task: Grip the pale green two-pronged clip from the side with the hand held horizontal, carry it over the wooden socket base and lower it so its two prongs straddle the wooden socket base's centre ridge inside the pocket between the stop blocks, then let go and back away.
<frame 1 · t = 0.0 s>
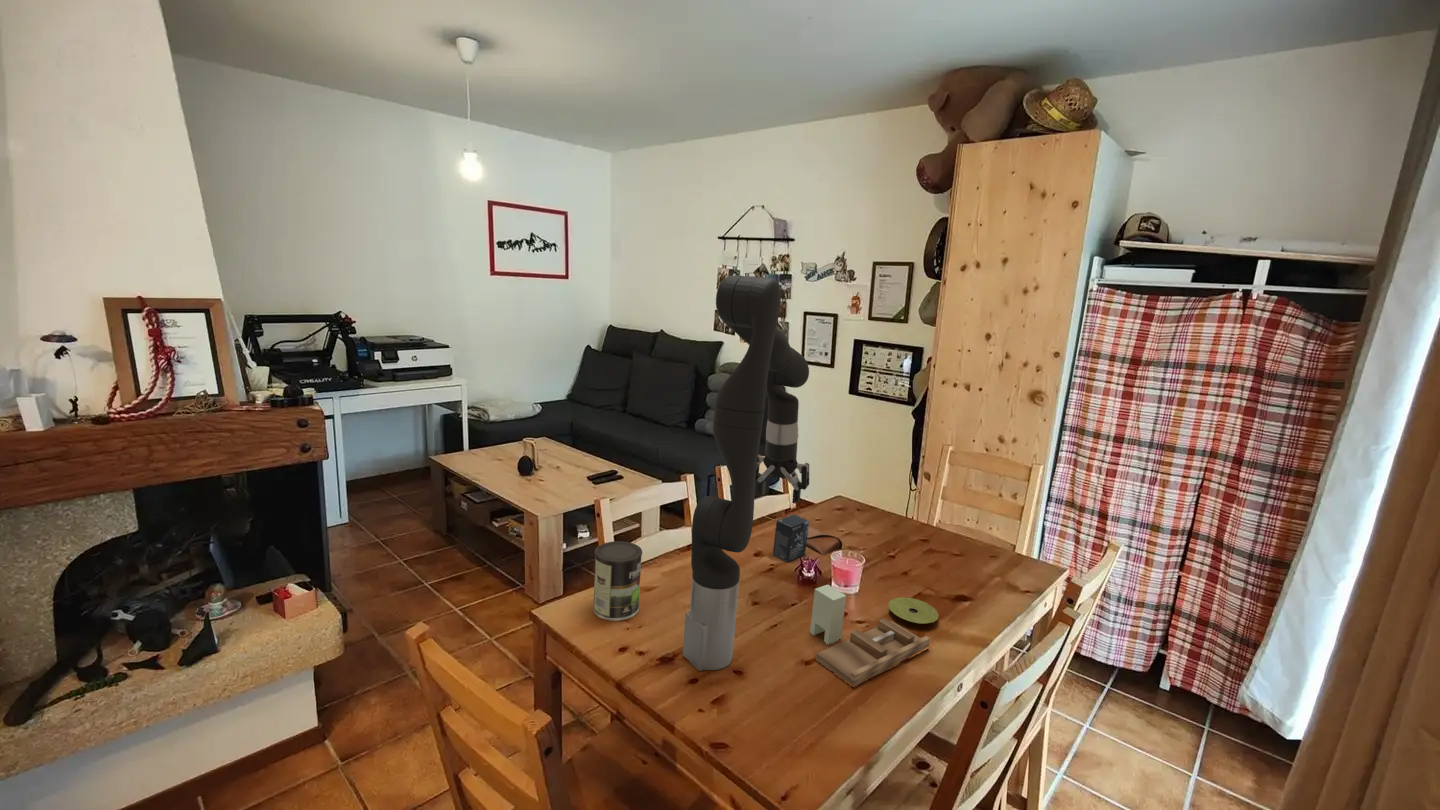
hand: (778, 498, 150), 22 cm above the table, tool pointing down, fingers open, 8 cm apart
sunglasses case: (809, 543, 181), on the table
green washer: (911, 617, 143), on the table
box: (789, 556, 170), on the table
wooden socket base: (873, 654, 127), on the table
coffee can: (616, 609, 137), on the table
clip: (825, 636, 133), on the table
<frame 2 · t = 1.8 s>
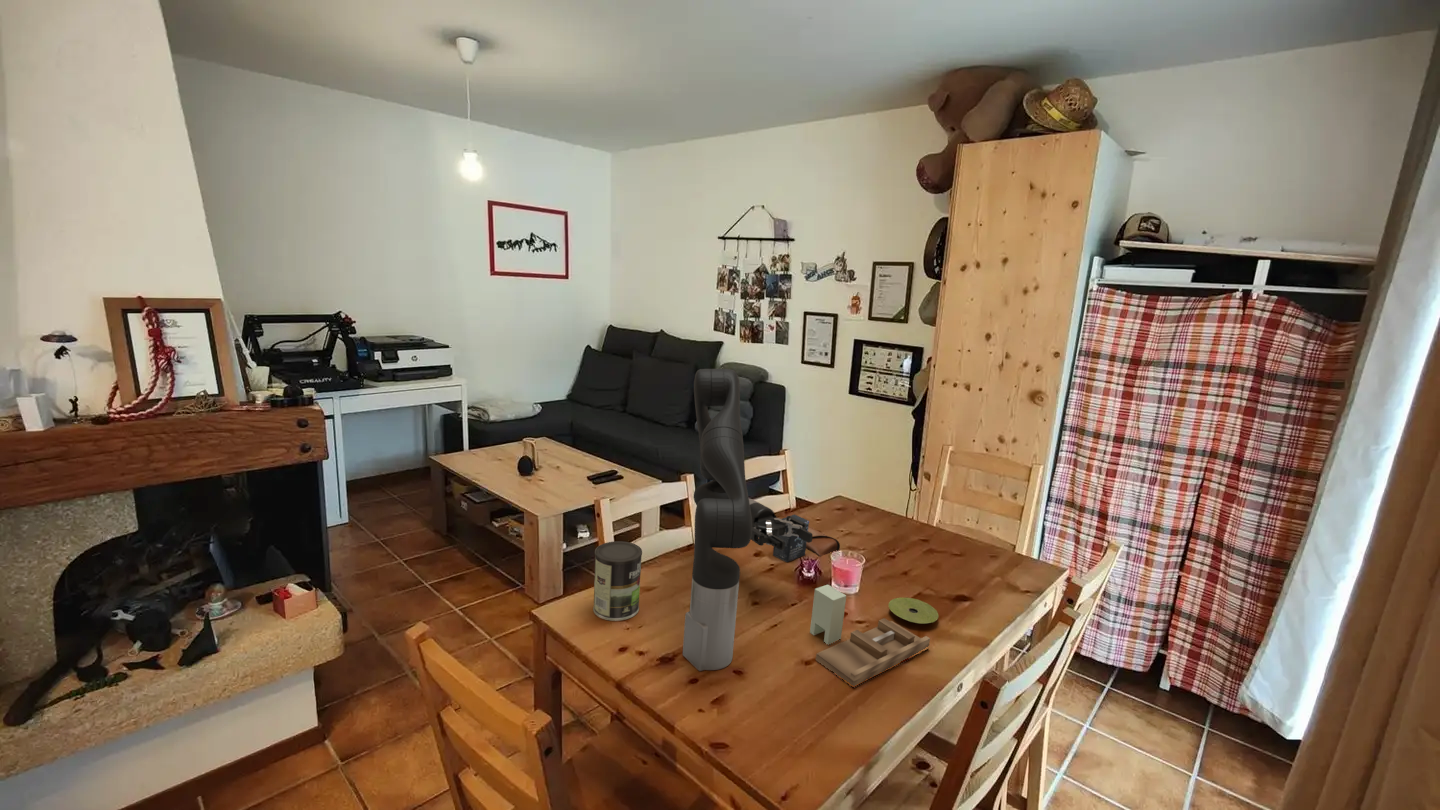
hand: (797, 542, 138), 17 cm above the table, tool horizontal, fingers open, 8 cm apart
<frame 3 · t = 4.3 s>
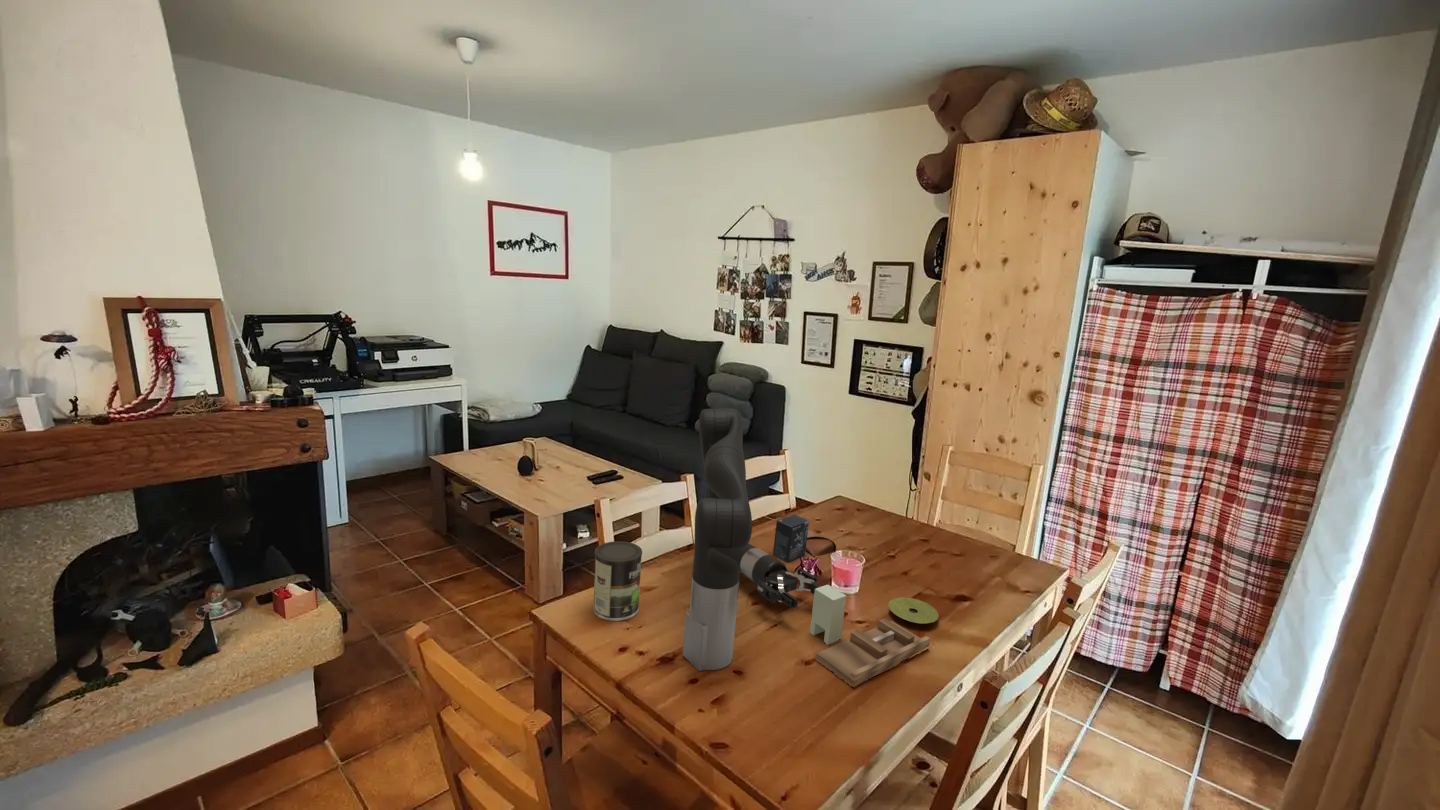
hand: (810, 599, 136), 6 cm above the table, tool horizontal, fingers open, 8 cm apart
sunglasses case: (804, 544, 180), on the table
everything else where it was.
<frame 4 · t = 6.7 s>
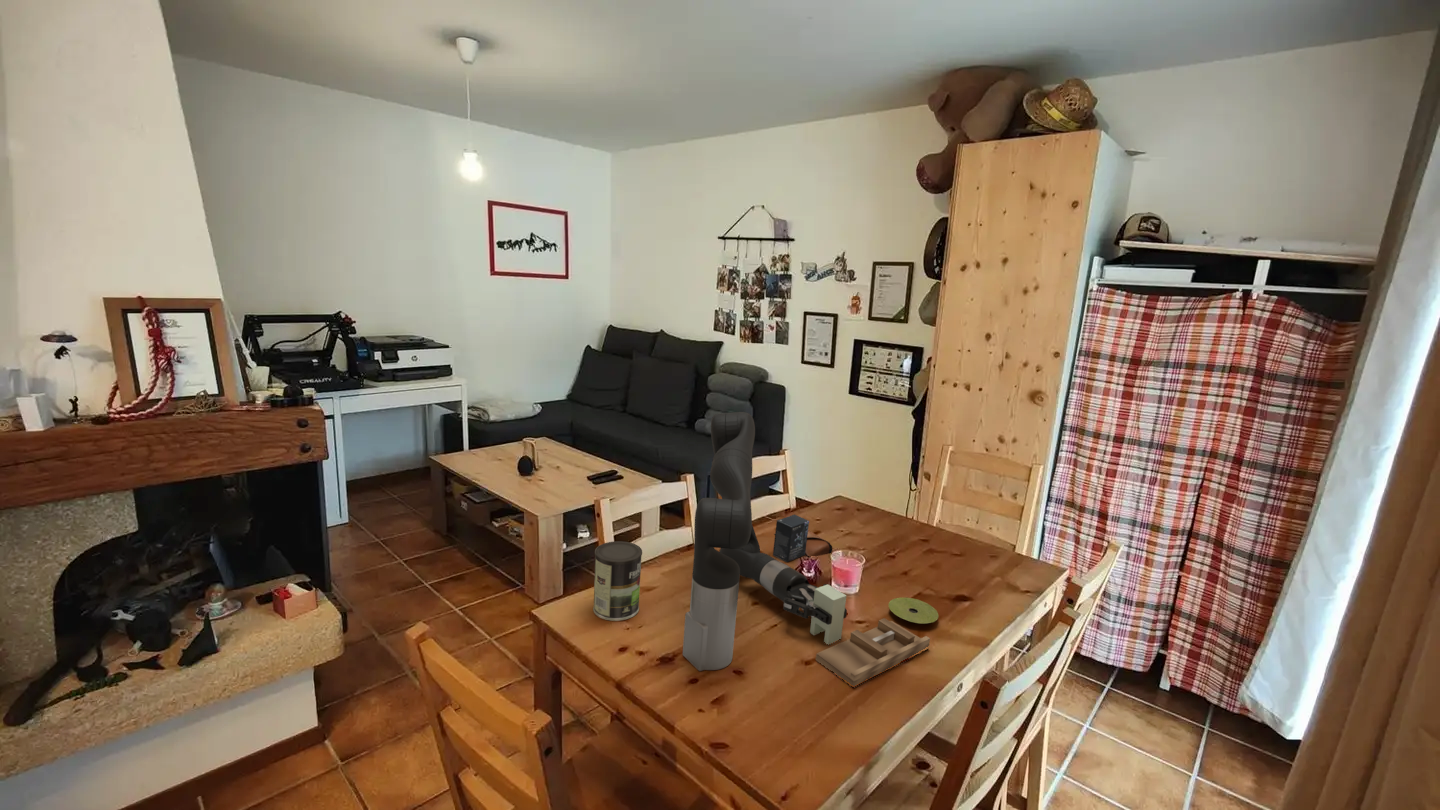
hand: (837, 617, 129), 6 cm above the table, tool horizontal, fingers closed on clip, 4 cm apart
sunglasses case: (801, 545, 179), on the table
clip: (825, 636, 133), on the table, touching gripper
everything else where it was.
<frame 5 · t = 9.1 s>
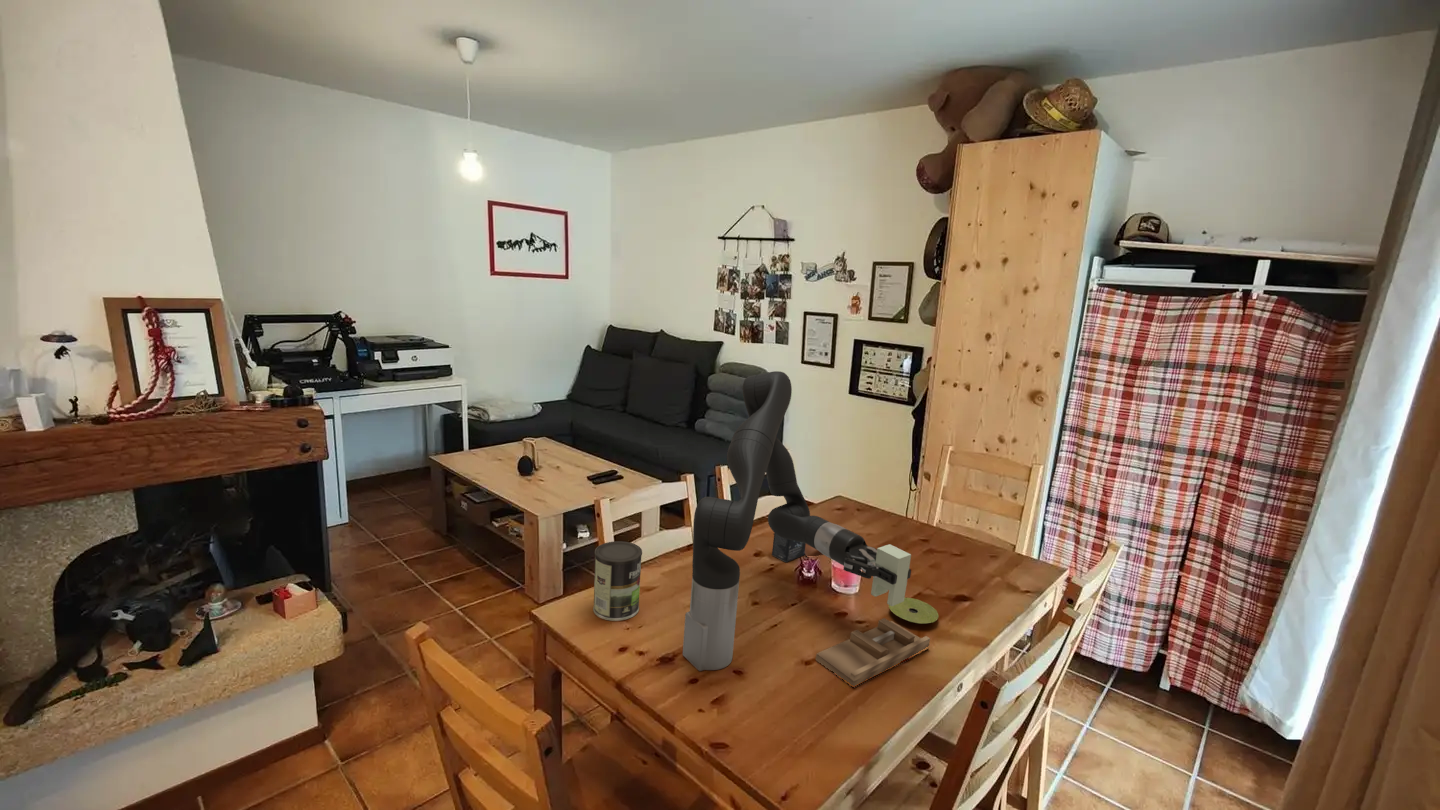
hand: (902, 577, 124), 18 cm above the table, tool horizontal, fingers closed on clip, 4 cm apart
clip: (887, 597, 127), point 12 cm above the table, touching gripper
everything else where it was.
when the fingers open (8 cm above the table, at t = 11.7 s): clip stays where it is, resting on wooden socket base.
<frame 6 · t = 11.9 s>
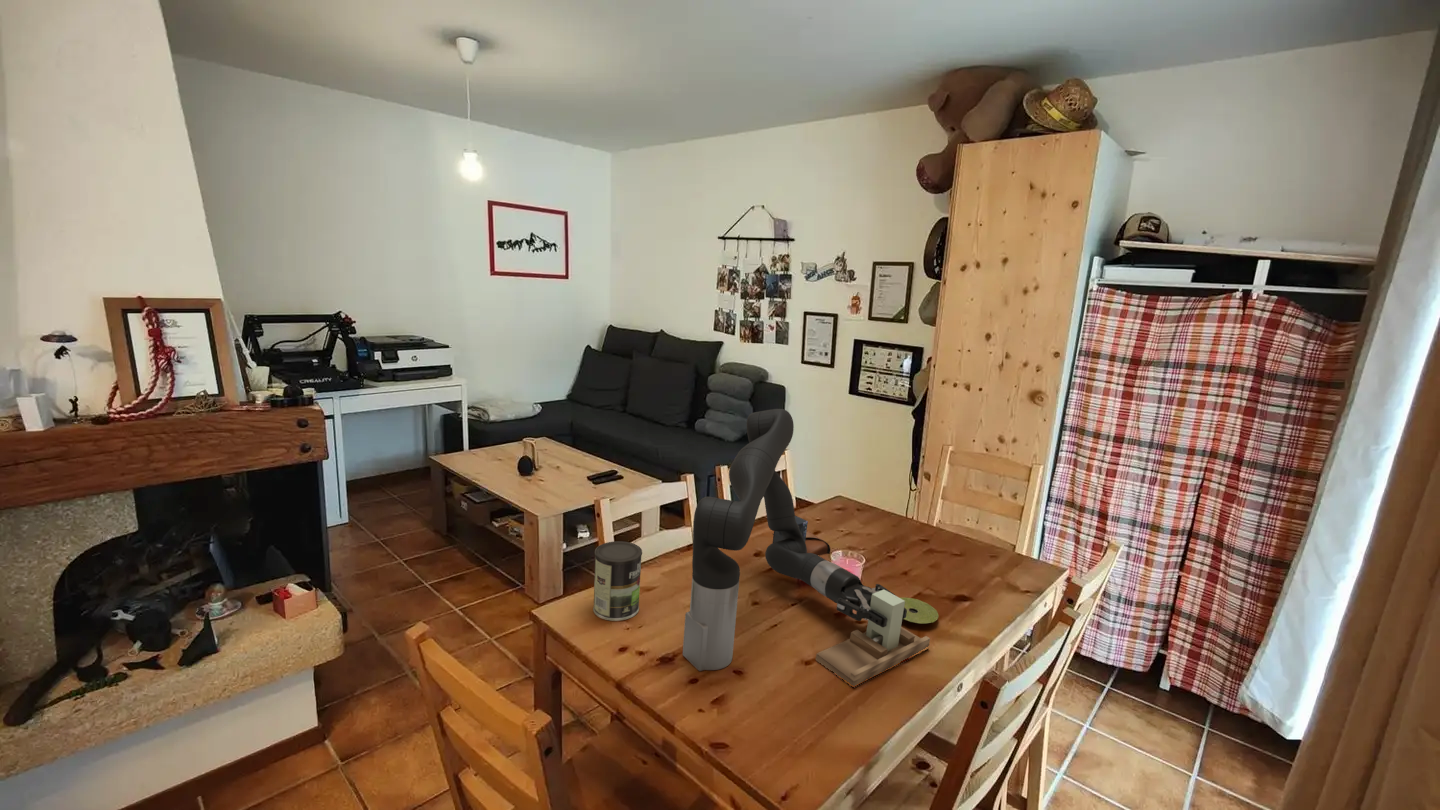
hand: (895, 618, 126), 9 cm above the table, tool horizontal, fingers open, 6 cm apart
clip: (881, 642, 129), point 2 cm above the table, touching wooden socket base
everything else where it was.
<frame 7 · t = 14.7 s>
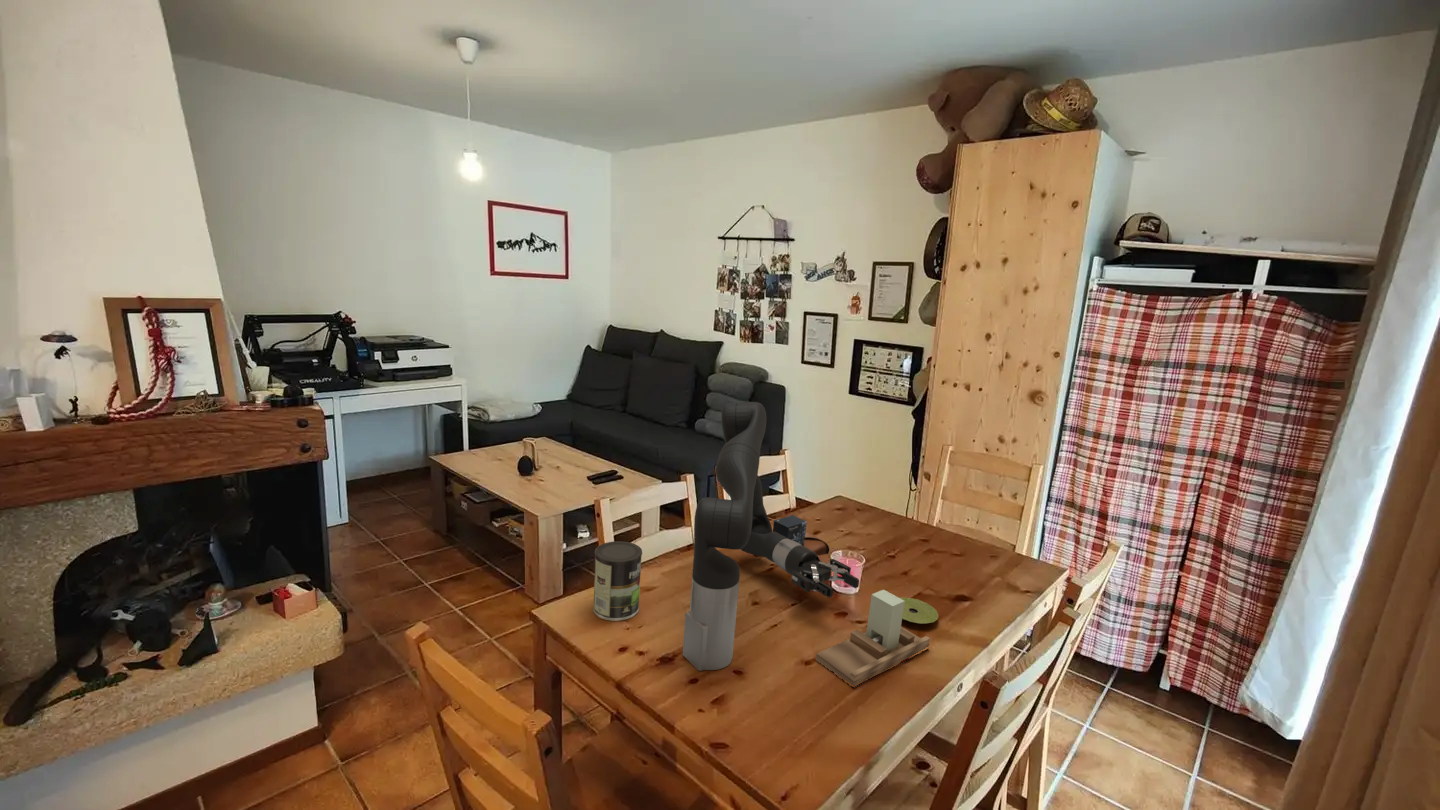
hand: (845, 588, 137), 8 cm above the table, tool horizontal, fingers open, 8 cm apart
nothing on the table moved.
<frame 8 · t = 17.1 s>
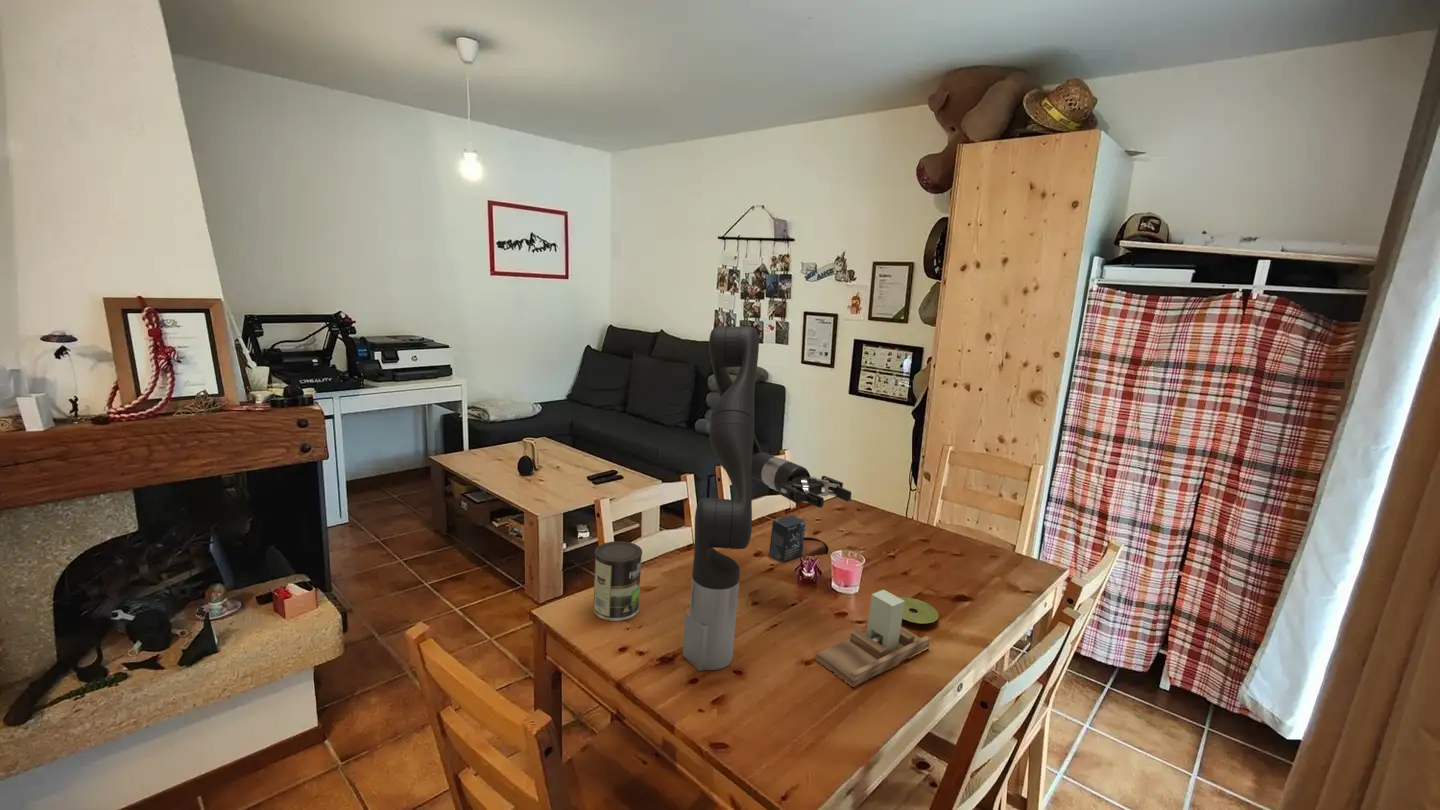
hand: (836, 499, 130), 30 cm above the table, tool horizontal, fingers open, 8 cm apart
at the end: clip 0.0 cm from the target spot on the wooden socket base, point 1.5 cm above the wooden socket base's base; clip tilted 0°; the gripper is holding nothing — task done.
